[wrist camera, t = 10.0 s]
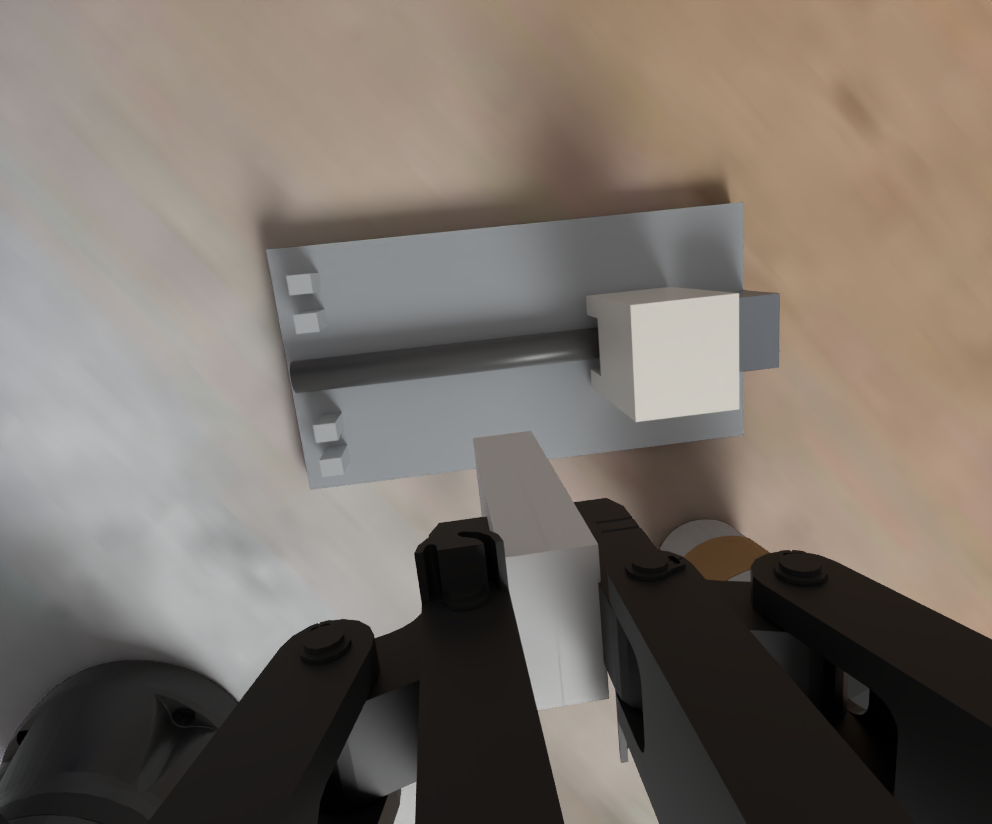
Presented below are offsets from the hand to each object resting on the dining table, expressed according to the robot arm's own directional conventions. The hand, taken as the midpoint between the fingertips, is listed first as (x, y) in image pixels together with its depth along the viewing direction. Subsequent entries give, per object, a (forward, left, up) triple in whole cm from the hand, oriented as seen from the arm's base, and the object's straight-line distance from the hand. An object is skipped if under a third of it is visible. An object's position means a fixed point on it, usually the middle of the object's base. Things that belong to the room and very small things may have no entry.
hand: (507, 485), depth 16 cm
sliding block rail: (+3, 0, -22) cm, 23 cm away
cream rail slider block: (+10, 0, -21) cm, 23 cm away
